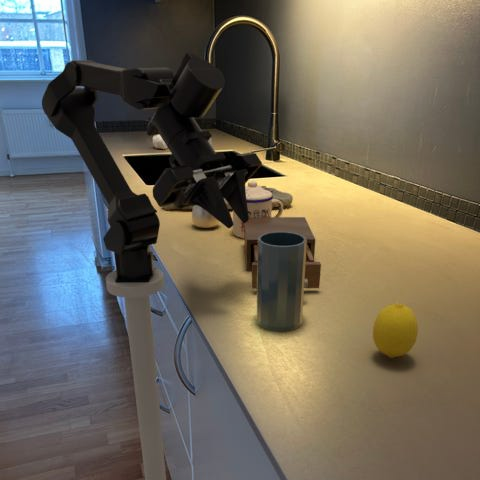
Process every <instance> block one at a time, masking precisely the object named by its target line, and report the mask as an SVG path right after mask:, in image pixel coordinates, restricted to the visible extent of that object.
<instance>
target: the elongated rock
mask: <svg viewBox="0 0 480 480" xmlns="http://www.w3.org/2000/svg"><path fill="white" fill-rule="evenodd" d="M259 186H260V187H262V188H263V189H264V190H268V191H270V192H271V193H272V196H273V198H272V199H277V200H279V201H280V202H281V203H282V204H283V207H285V206H291V205H292V204H293V195H292V194H291V193H288V192H284V191H283V192H282V191H280V190H278V189H277V188H274V187H267V186H266V185H259ZM224 201H225V203H226V205H227V207H228V210H233V209H232V208H231V206H230V205H229V204H228V202H227V201H226V199H225V198H224ZM162 208H163V209H164V210H166V211H170V210H179V209H178V208H177V207H176V206H175V205H174V204H171V205H167V206H163V207H162ZM274 208H279V204H278V203H272V209H274ZM182 210H193V206H187V207H184V208H183V209H182Z"/></svg>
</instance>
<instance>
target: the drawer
mask: <svg viewBox="0 0 480 480" xmlns="http://www.w3.org/2000/svg"><path fill="white" fill-rule="evenodd" d="M257 251H258V244H253V262H252V271H251V289H253V290H254V289H255V290H257ZM321 270H322V263H321V261H315V257H314V258H313V256H312V254H311V251H310V249H309V246H308V244H307V246H306V262H305V279H304V289H320V283H321Z"/></svg>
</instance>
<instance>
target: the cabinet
mask: <svg viewBox="0 0 480 480" xmlns="http://www.w3.org/2000/svg"><path fill="white" fill-rule="evenodd" d="M269 232H293V233H297V234H301V235H302V236H304V237H306V240H307V244H308V246H309V249H310V251H311V254H312V256H313V258H314V259H315V251H316V237H315V235H314V233H313V231H312V229H311V227H310V225H309V222H308V221H307V219H306V217H305V216H280V217H275V216H273V217H272V216H271V217H253V218H249V220H248V221H247V222H246V223H245V227H244V238H243V240H244V257H245V258H244V259H245V267H246V271H247V272H248V271H249V272H250V271H251V272H252V262H253V244H258V237H259V236H260V235H262V234H265V233H269Z"/></svg>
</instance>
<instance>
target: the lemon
mask: <svg viewBox="0 0 480 480" xmlns="http://www.w3.org/2000/svg"><path fill="white" fill-rule="evenodd" d="M418 332H419V326H418V319H417V316H416V314H415V313H414V311H413V310H412V309H410V307H408V306H406V305H404V304H403V303H401V302H397V303H393V304H389V305H386V306H385V307H383V308H382V309H381V310H380V311H379V313H377V316H376V317H375V320H374V324H373V327H372V339H373V343H374V345H375V347H376V348H377V350H378V351H379V352H380V353H382V354H383V355H385V356H387V357H388V358H389V359H394V358H395V357H396V358H397V357H401V356H404V355H406V354H407V353H409V352H410V351H411V350H412V349H413V347H414V346H415V344H416V341H417V338H418Z"/></svg>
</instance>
